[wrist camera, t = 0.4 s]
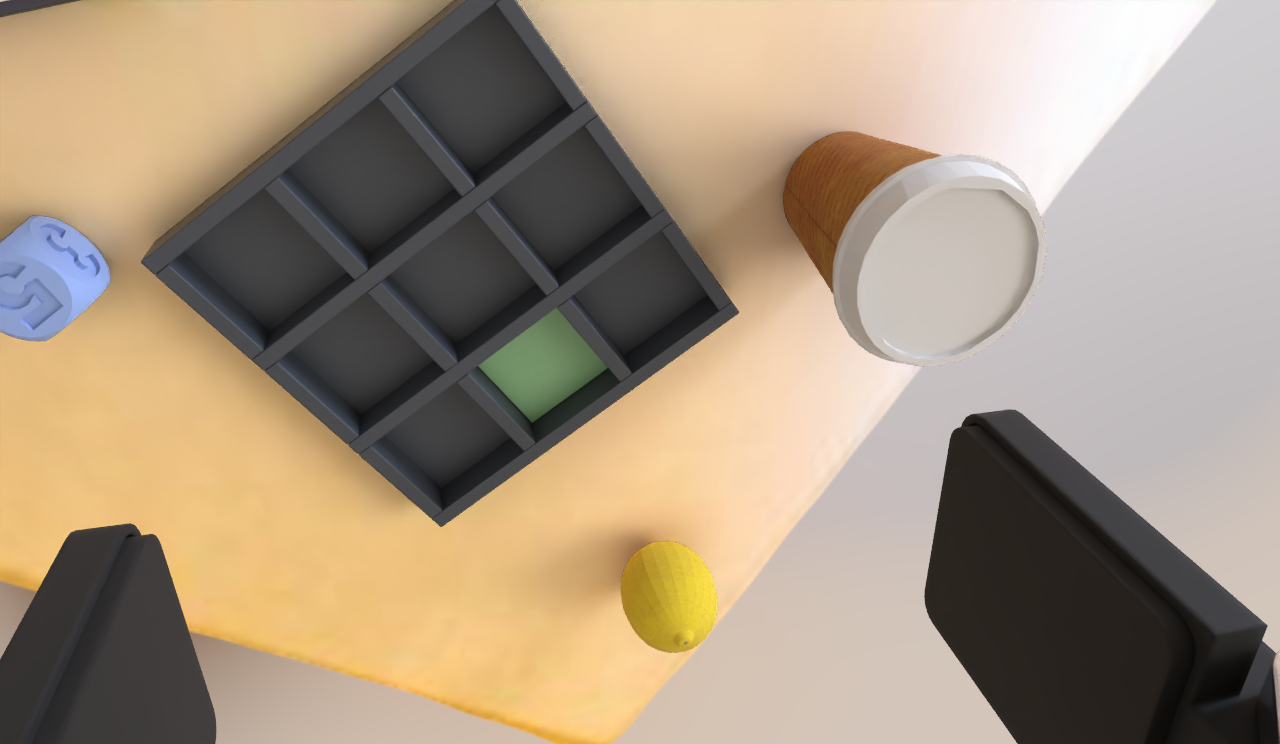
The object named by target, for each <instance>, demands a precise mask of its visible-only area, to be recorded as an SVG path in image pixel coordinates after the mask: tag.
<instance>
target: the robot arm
mask: <svg viewBox="0 0 1280 744" xmlns="http://www.w3.org/2000/svg"><path fill="white" fill-rule="evenodd" d="M924 597H925V605H926V609H927V612H928V615H929V618H930V619H931V621H932V623H933V624H934V626H935V627H936V629H937V630H938V631H939V633H940V634H941V636H942V637H943V639H944V640H945V641H946V643H947V644H948V646H949V647H950V648H951V650H952V651H953V653H954V654H955V656H956V657H957V658H958V660H959V661H960V663H961V664H962V665H963V667H964V668H965V670H966V671H967V673H968V674H969V675H970V677H971V678H972V680H973V681H974V682H975V684H976V685H977V687H978V688H979V689H980V691H981V692H982V694H983V695H984V697H985V698H986V699H987V701H988V702H989V703H990V705H991V706H992V708H993V709H994V711H995V712H996V714H997V715H998V717H1000V719H1001V721H1002V722H1003V723H1004V725H1005V726H1006V728H1007V729H1008V731H1009V732H1010V734H1011V735H1012V736H1013V738H1014V739H1015V740H1016V742H1017V743H1018V744H1280V651H1279V652H1278V653H1275V652H1274V651H1273V650H1272V649H1271V648H1270V647H1268V646H1267V645H1266V644H1265V643H1264V642H1263V641H1262V638H1263V636H1264V633H1265V631H1266V628H1267V625H1266V624H1265V623H1264V622H1262V620H1260V619H1259V618H1258V617H1257V616H1256V615H1255V614H1253V613H1252V612H1251V611H1250V610H1249V609H1247V608H1246V607H1245V606H1244V605H1243V604H1242V603H1241V602H1239V601H1238V600H1237V599H1236V598H1235V597H1234V596H1233V595H1231V594H1230V593H1229V592H1228V591H1227V590H1226V589H1224V588H1223V587H1222V586H1221V585H1220V584H1219V583H1217V582H1216V581H1215V580H1214V579H1213V578H1212V577H1211V576H1209V575H1208V574H1207V573H1206V572H1205V571H1203V570H1202V569H1201V568H1200V567H1199V566H1198V565H1197V564H1195V563H1194V562H1193V561H1192V560H1191V559H1190V558H1189V557H1187V556H1186V555H1185V554H1184V553H1183V552H1181V551H1180V550H1179V549H1178V548H1177V547H1176V546H1174V545H1173V544H1172V543H1171V542H1170V541H1169V540H1168V539H1166V538H1165V537H1164V536H1163V535H1162V534H1161V533H1159V532H1158V531H1157V530H1156V529H1155V528H1154V527H1153V526H1151V525H1150V524H1149V523H1148V522H1147V521H1145V520H1144V519H1143V518H1142V517H1141V516H1140V515H1138V514H1137V513H1136V512H1135V511H1134V510H1133V509H1132V508H1130V507H1129V506H1128V505H1127V504H1126V503H1125V502H1124V501H1122V500H1121V499H1120V498H1119V497H1118V496H1117V495H1115V494H1114V493H1113V492H1112V491H1111V490H1109V489H1108V488H1107V487H1106V486H1105V485H1104V484H1103V483H1101V482H1100V481H1099V480H1098V479H1097V478H1096V477H1095V476H1093V475H1092V474H1091V473H1090V472H1089V471H1088V470H1086V469H1085V468H1084V467H1083V466H1082V465H1080V464H1079V463H1078V462H1077V461H1076V460H1075V459H1074V458H1072V457H1071V456H1070V455H1069V454H1068V453H1067V452H1066V451H1064V450H1063V449H1062V448H1061V447H1060V446H1059V445H1057V444H1056V443H1055V442H1054V441H1053V440H1051V439H1050V438H1049V437H1048V436H1047V435H1046V434H1045V433H1043V432H1042V431H1041V430H1040V429H1039V428H1037V427H1036V426H1035V425H1034V424H1033V423H1032V422H1031V421H1030V420H1028V419H1027V418H1026V417H1025V416H1024V415H1023V414H1021V413H1020V412H1018V411H1016V410H1003V411H995V412H987V413H980V414H972V415H970V416H968V417H966V418H965V420H964V421H963V423H962V426H961V427H960V428H957V429H955V430H954V431H953V433H952V435H951V438H950V443H949V449H948V455H947V461H946V467H945V473H944V479H943V485H942V491H941V497H940V503H939V509H938V515H937V521H936V527H935V533H934V539H933V545H932V551H931V557H930V563H929V569H928V575H927V580H926V587H925V596H924ZM215 741H216V718H215V713H214V708H213V705H212V702H211V699H210V696H209V693H208V690H207V687H206V683H205V680H204V677H203V674H202V671H201V668H200V665H199V662H198V659H197V656H196V652H195V649H194V646H193V643H192V640H191V637H190V634H189V631H188V627H187V624H186V621H185V618H184V615H183V612H182V609H181V606H180V603H179V599H178V596H177V593H176V590H175V587H174V584H173V581H172V578H171V575H170V571H169V568H168V565H167V562H166V559H165V556H164V553H163V550H162V547H161V544H160V542H159V539H158V538H157V537H156V535H153V534H149V535H142V536H141V534H140V531H139V530H138V529H137V527H136V526H135V525H133V524H122V525H114V526H107V527H99V528H91V529H84V530H76V531H74V532H71V533H70V534H69V536H68V537H67V538H66V540H65V542H64V543H63V545H62V547H61V549H60V551H59V553H58V554H57V556H56V558H55V560H54V562H53V564H52V565H51V567H50V569H49V571H48V573H47V575H46V577H45V578H44V580H43V582H42V584H41V586H40V588H39V589H38V591H37V593H36V595H35V597H34V599H33V601H32V603H31V604H30V606H29V608H28V610H27V611H26V613H25V615H24V617H23V619H22V621H21V622H20V624H19V626H18V628H17V630H16V632H15V633H14V635H13V637H12V639H11V641H10V643H9V645H8V646H7V648H6V650H5V652H4V654H3V655H2V658H1V659H0V744H215Z"/></svg>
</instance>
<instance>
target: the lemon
mask: <svg viewBox="0 0 1280 744" xmlns="http://www.w3.org/2000/svg"><path fill="white" fill-rule="evenodd" d="M621 597H622V604H623V608H624V611H625V614H626V616H627V618H628V620H629V622H630V624H631V626H632V628H633V629H634V631H635V632H636V633H637V635H638V636H639V637H640V638H641V639H642V640H643V641H644V642H645V643H647V644H648V645H649V646H651V647H653V648H655V649H657V650H660V651H664V652H669V653H677V652H682V651H686V650H689V649H692V648H693V647H695V646H697V645H698V644H700V643H701V642H702V641H703V640H704V639H705V638H706V637H707V635H708V634H709V633H710V631H711V630H712V627H713V625H714V622H715V620H716V614H717V595H716V590H715V586H714V582H713V578H712V576H711V573H710V571H709V570H708V568H707V566H706V565H705V563H704V562H703V560H702V559H701V558H700V557H699V556H698V555H697V554H696V553H695V552H694V551H692V550H691V549H690V548H688V547H686V546H684V545H682V544H679V543H677V542H670V541H659V542H655V543H651V544H649V545H646V546H644V547H642V548H641V549H640V550H639V551H637V552H636V553H635V554H634V555H633V556H632V558H631V559H630V560H629V562H628V563H627V565H626V567H625V569H624V572H623V575H622V581H621Z"/></svg>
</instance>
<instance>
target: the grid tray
mask: <svg viewBox="0 0 1280 744" xmlns="http://www.w3.org/2000/svg"><path fill="white" fill-rule="evenodd" d="M141 263H142V264H143V265H144V266H145V267H146V268H148V269H149V270H150V271H151V272H152V273H153V274H156V277H158V278H159V279H160V280H161V281H162V282H163V283H164V284H166V285H167V286H168V287H169V288H170V289H171V290H172V291H173V292H175V293H176V294H177V295H178V296H179V297H180V298H181V299H183V300H184V301H185V302H186V303H187V304H188V305H189V306H190V307H192V308H193V309H194V310H195V311H196V312H197V313H198V314H200V315H201V316H202V317H203V318H204V319H205V320H206V321H208V322H209V323H210V324H211V325H212V326H213V327H214V328H215V329H217V330H218V331H219V332H220V333H221V334H222V335H223V336H225V337H226V338H227V339H228V340H229V341H230V342H231V343H232V344H234V345H235V346H236V347H237V348H238V349H239V350H240V351H242V352H243V353H244V354H245V355H246V356H247V357H248V358H250V359H251V360H252V361H253V362H254V363H256V364H257V365H258V366H259V367H260V368H261V369H262V370H265V372H266V373H267V374H268V375H269V376H270V377H271V378H273V379H274V380H275V381H276V382H277V383H278V384H279V385H280V386H282V387H283V388H284V389H285V390H286V391H287V392H288V393H290V394H291V395H292V396H293V397H294V398H295V399H296V400H297V401H299V402H300V403H301V404H302V405H303V406H304V407H305V408H307V409H308V410H309V411H310V412H311V413H312V414H313V415H315V416H316V417H317V418H318V419H319V420H320V421H321V422H322V423H324V424H325V425H326V426H327V427H328V428H329V429H330V430H332V431H333V432H334V433H335V434H336V435H337V436H338V437H339V438H341V439H342V440H343V441H344V442H345V443H346V444H348V446H350V447H351V448H352V449H353V450H354V451H355V452H356V453H358V454H359V455H360V456H361V457H362V458H363V459H364V460H365V461H367V462H368V463H369V464H370V465H371V466H372V467H373V468H375V469H376V470H377V471H378V472H379V473H380V474H381V475H383V476H384V477H385V478H386V479H387V480H388V481H389V482H390V483H392V484H393V485H394V486H395V487H396V488H397V489H398V490H400V491H401V492H402V493H403V494H404V495H405V496H406V497H407V498H409V499H410V500H411V501H412V502H413V503H414V504H415V505H417V506H418V507H419V508H420V509H421V510H422V511H423V512H425V513H426V514H427V515H428V516H429V517H430V518H432V520H433V521H435V522H436V523H437V524H438V525H439V526H440V527H442V526H444V525H445V524H446V523H448V522H449V521H451V520H452V519H453V518H455V517H456V516H457V515H459V514H460V513H462V512H463V511H464V510H466V509H467V508H469V507H470V506H471V505H473V504H474V503H476V502H477V501H478V500H480V499H481V498H482V497H484V496H485V495H487V494H488V493H489V492H491V491H492V490H494V489H495V488H496V487H498V486H499V485H501V484H502V483H503V482H505V481H506V480H507V479H509V478H510V477H512V476H513V475H514V474H516V473H517V472H519V471H520V470H521V469H523V468H524V467H526V466H527V465H528V464H530V463H531V462H533V461H534V460H535V459H537V458H538V457H539V456H541V455H542V454H544V453H545V452H546V451H548V450H549V449H551V448H552V447H553V446H555V445H556V444H558V443H559V442H560V441H562V440H563V439H564V438H566V437H567V436H569V435H570V434H571V433H573V432H574V431H576V430H577V429H578V428H580V427H581V426H583V425H584V424H585V423H587V422H588V421H589V420H591V419H592V418H594V417H595V416H596V415H598V414H599V413H601V412H602V411H603V410H605V409H606V408H608V407H609V406H610V405H612V404H613V403H615V402H616V401H617V400H619V399H620V398H621V397H623V396H624V395H626V394H627V393H628V392H630V391H631V390H633V389H634V388H635V387H637V386H638V385H640V384H641V383H642V382H644V381H645V380H646V379H648V378H649V377H651V376H652V375H653V374H655V373H656V372H658V371H659V370H660V369H662V368H663V367H665V366H666V365H667V364H669V363H670V362H671V361H673V360H674V359H676V358H677V357H678V356H680V355H681V354H683V353H684V352H685V351H687V350H688V349H690V348H691V347H692V346H694V345H695V344H697V343H698V342H699V341H701V340H702V339H703V338H705V337H706V336H708V335H709V334H710V333H712V332H713V331H715V330H716V329H717V328H719V327H720V326H722V325H723V324H724V323H726V322H727V321H728V320H730V319H731V318H733V317H734V316H735V315H737V314H738V313H739V311H738V310H737V308H736V307H735V305H734V304H733V303H732V301H731V300H730V298H729V297H728V296H727V294H726V293H725V291H724V290H723V289H722V287H721V286H720V285H719V283H718V282H717V280H716V279H715V278H714V276H713V275H712V273H711V272H710V271H709V269H708V268H707V266H706V265H705V264H704V262H703V261H702V259H701V258H700V257H699V255H698V254H697V252H696V251H695V250H694V248H693V247H692V245H691V244H690V243H689V241H688V240H687V238H686V237H685V236H684V234H683V233H682V231H681V230H680V229H679V227H678V226H677V224H676V223H675V222H674V220H673V219H672V218H671V216H670V215H669V213H668V212H667V211H666V209H665V208H664V206H663V205H662V204H661V202H660V201H659V199H658V198H657V197H656V195H655V194H654V192H653V191H652V190H651V188H650V187H649V185H648V184H647V183H646V181H645V180H644V178H643V177H642V176H641V174H640V173H639V171H638V170H637V169H636V167H635V166H634V164H633V163H632V162H631V160H630V159H629V158H628V156H627V155H626V153H625V152H624V151H623V149H622V148H621V146H620V145H619V144H618V142H617V141H616V139H615V138H614V137H613V135H612V134H611V132H610V131H609V130H608V128H607V127H606V125H605V124H604V123H603V121H602V120H601V118H600V117H599V116H598V114H597V113H596V111H595V110H594V109H593V107H592V106H591V104H590V103H589V102H588V100H587V99H586V97H585V96H584V95H583V93H582V92H581V91H580V89H579V88H578V86H577V85H576V84H575V82H574V81H573V79H572V78H571V77H570V75H569V74H568V72H567V71H566V70H565V68H564V67H563V65H562V64H561V63H560V61H559V60H558V58H557V57H556V56H555V54H554V53H553V51H552V50H551V49H550V47H549V46H548V44H547V43H546V42H545V40H544V39H543V37H542V36H541V35H540V33H539V32H538V30H537V29H536V28H535V26H534V25H533V24H532V22H531V21H530V19H529V18H528V17H527V15H526V14H525V12H524V11H523V10H522V8H521V7H520V5H519V4H518V3H517V1H516V0H454V1H453V2H452V3H451V4H450V5H448V6H447V7H446V8H445V9H443V10H442V11H441V12H440V13H438V14H437V15H436V16H435V17H433V18H432V19H431V20H430V21H428V22H427V23H426V24H425V25H423V26H422V27H421V28H420V29H418V30H417V31H416V32H415V33H413V34H412V35H411V36H410V37H409V38H407V39H406V40H405V41H404V42H402V43H401V44H400V45H399V46H397V47H396V48H395V49H394V50H392V51H391V52H390V53H389V54H387V55H386V56H385V57H384V58H382V59H381V60H380V61H379V62H377V63H376V64H375V65H374V66H373V67H371V68H370V69H369V70H368V71H366V72H365V73H364V74H363V75H361V76H360V77H359V78H358V79H356V80H355V81H354V82H353V83H351V84H350V85H349V86H348V87H346V88H345V89H344V90H343V91H341V92H340V93H339V94H338V95H337V96H335V97H334V98H333V99H332V100H330V101H329V102H328V103H327V104H325V105H324V106H323V107H322V108H320V109H319V110H318V111H317V112H315V113H314V114H313V115H312V116H310V117H309V118H308V119H307V120H305V121H304V122H303V123H302V124H301V125H299V126H298V127H297V128H296V129H294V130H293V131H292V132H291V133H289V134H288V135H287V136H286V137H284V138H283V139H282V140H281V141H279V142H278V143H277V144H276V145H274V146H273V147H272V148H271V149H269V150H268V151H267V152H266V153H264V154H263V155H262V156H261V157H260V158H258V159H257V160H256V161H255V162H253V163H252V164H251V165H250V166H248V167H247V168H246V169H245V170H243V171H242V172H241V173H240V174H238V175H237V176H236V177H235V178H233V179H232V180H231V181H230V182H228V183H227V184H226V185H225V186H224V187H222V188H221V189H220V190H219V191H217V192H216V193H215V194H214V195H212V196H211V197H210V198H209V199H207V200H206V201H205V202H204V203H202V204H201V205H200V206H199V207H197V208H196V209H195V210H194V211H192V212H191V213H190V214H189V215H188V216H186V217H185V218H184V219H183V220H181V221H180V222H179V223H178V224H176V225H175V226H174V227H173V228H171V229H170V230H169V231H168V232H166V233H165V234H164V235H163V236H161V237H160V238H159V239H158V240H156V241H155V242H154V244H153V245H152V247H151V248H150V250H149V251H148V252H147V254H146V255H145V257H144V258H143V259H142V261H141Z"/></svg>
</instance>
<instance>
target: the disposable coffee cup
mask: <svg viewBox="0 0 1280 744" xmlns="http://www.w3.org/2000/svg"><path fill="white" fill-rule="evenodd" d="M783 205H784V210H785V215H786V218H787V220H788V223H789V225H790V226H791V228H792V229H793V231H794V232H795V234H796V235H797V237H798V238H799V240H800V242H801V243H802V245H803V247H804V248H805V250H806V251H807V253H808V255H809V257H810V258H811V260H812V261H813V263H814V264H815V266H816V267H817V269H818V271H819V272H820V274H821V275H822V277H823V278H824V280H825V282H826V284H827V285H828V287H829V288H830V290H831V292H832V293H833V295H834V302H835V306H836V309H837V312H838V315H839V318H840V320H841V322H842V323H843V325H844V327H845V328H846V330H847V331H848V333H849V335H850V336H851V337H852V338H853V339H854V340H855V341H856V342H857V343H858V344H859V345H860V346H861V347H863V348H864V349H865V350H867V351H868V352H869V353H871V354H873V355H876V356H878V357H880V358H882V359H885V360H889V361H893V362H899V363H906V364H910V365H916V366H923V367H925V366H941V365H946V364H951V363H955V362H958V361H960V360H963V359H965V358H968V357H970V356H972V355H975V354H977V353H979V352H980V351H982V350H984V349H985V348H987V347H989V346H990V345H991V344H993V343H994V342H995V341H997V340H998V339H999V338H1001V337H1002V336H1003V335H1004V334H1005V333H1006V332H1007V331H1008V330H1009V329H1010V328H1011V327H1012V326H1013V325H1014V324H1015V323H1016V322H1017V321H1018V319H1019V318H1020V316H1021V315H1022V314H1023V312H1024V311H1025V310H1026V308H1027V307H1028V305H1029V304H1030V303H1031V301H1032V299H1033V296H1034V294H1035V292H1036V290H1037V288H1038V285H1039V283H1040V281H1041V279H1042V275H1043V270H1044V264H1045V258H1046V253H1047V245H1046V236H1045V227H1044V222H1043V220H1042V218H1041V216H1040V214H1039V212H1038V210H1037V208H1036V204H1035V201H1034V199H1033V198H1032V196H1031V194H1030V192H1029V190H1028V189H1027V187H1026V185H1025V184H1024V183H1023V182H1022V181H1021V180H1020V179H1019V177H1018V176H1017V175H1016V174H1015V173H1014V172H1013V171H1011V170H1010V169H1008V168H1006V167H1005V166H1003V165H1001V164H1000V163H998V162H996V161H993V160H989V159H986V158H983V157H980V156H972V155H964V154H958V155H943V156H942V155H939V154H935V153H931V152H927V151H924V150H920V149H917V148H912V147H910V146H905V145H902V144H898V143H894V142H891V141H886V140H883V139H879V138H876V137H872V136H868V135H865V134H862V133H858V132H841V133H836V134H832V135H829V136H826V137H824V138H822V139H821V140H819V141H817V142H815V143H814V144H813V145H811V146H810V147H809V148H808V149H806V150H805V151H804V153H803V154H802V155H801V156H800V157H799V158H798V160H797V161H796V162H795V164H794V165H793V167H792V169H791V171H790V173H789V175H788V178H787V180H786V185H785V190H784V198H783Z"/></svg>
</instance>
